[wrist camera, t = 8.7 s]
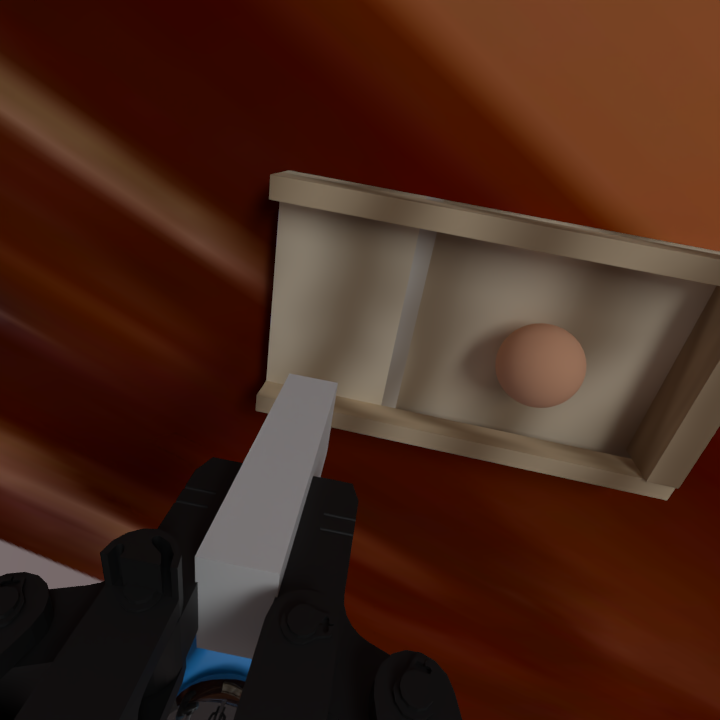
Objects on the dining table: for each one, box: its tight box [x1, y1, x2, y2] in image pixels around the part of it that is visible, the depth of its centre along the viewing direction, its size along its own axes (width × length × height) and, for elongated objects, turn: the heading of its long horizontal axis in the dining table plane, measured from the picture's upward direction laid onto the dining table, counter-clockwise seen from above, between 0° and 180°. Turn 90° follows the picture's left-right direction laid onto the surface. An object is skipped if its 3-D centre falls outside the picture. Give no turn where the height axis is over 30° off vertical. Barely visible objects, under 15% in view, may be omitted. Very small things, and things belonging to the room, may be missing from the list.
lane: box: [256, 171, 720, 500], centre depth 22 cm, size 22×12×3 cm, turn 81°
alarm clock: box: [167, 636, 252, 720], centre depth 26 cm, size 13×6×15 cm, turn 137°
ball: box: [495, 323, 587, 408], centre depth 21 cm, size 4×4×4 cm
